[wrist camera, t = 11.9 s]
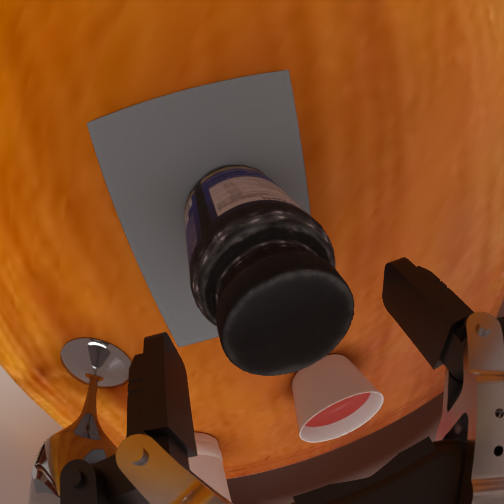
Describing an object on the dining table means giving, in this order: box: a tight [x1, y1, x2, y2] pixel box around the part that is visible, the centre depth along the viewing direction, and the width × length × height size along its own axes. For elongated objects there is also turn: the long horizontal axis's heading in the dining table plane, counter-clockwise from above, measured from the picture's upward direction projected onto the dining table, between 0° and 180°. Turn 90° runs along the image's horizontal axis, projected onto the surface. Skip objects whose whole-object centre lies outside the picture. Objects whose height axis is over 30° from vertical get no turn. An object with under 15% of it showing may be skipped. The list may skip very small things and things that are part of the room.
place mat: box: [87, 70, 311, 347], centre depth 20 cm, size 18×12×1 cm, turn 11°
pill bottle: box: [184, 165, 354, 376], centre depth 14 cm, size 6×6×11 cm
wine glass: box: [28, 338, 132, 504], centre depth 17 cm, size 8×8×15 cm
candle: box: [292, 354, 383, 442], centre depth 28 cm, size 9×9×6 cm
